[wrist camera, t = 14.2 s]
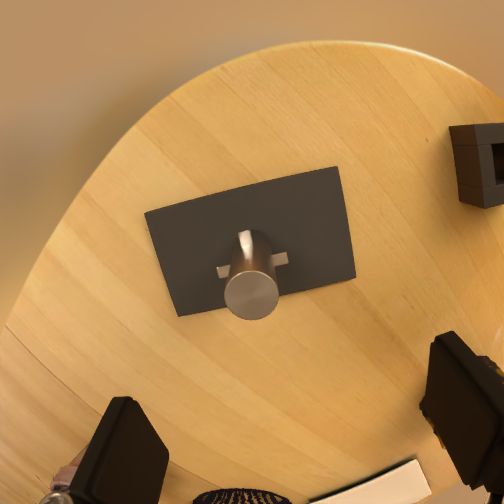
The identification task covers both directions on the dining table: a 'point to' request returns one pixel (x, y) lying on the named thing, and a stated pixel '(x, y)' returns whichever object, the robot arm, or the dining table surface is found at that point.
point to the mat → (262, 219)
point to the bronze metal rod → (252, 276)
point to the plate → (386, 488)
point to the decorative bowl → (206, 503)
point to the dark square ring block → (479, 163)
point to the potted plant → (66, 475)
